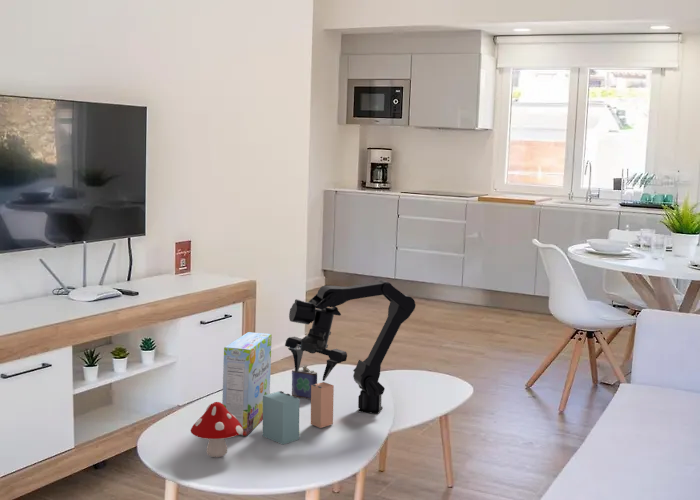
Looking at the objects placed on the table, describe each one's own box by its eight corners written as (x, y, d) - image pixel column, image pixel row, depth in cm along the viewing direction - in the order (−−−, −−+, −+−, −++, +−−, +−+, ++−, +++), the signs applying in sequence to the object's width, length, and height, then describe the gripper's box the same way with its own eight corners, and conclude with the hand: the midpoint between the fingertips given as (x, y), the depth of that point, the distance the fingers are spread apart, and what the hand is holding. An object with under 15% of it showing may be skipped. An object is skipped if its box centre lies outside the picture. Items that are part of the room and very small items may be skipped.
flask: (290, 396, 272) (290, 364, 270) (294, 393, 274) (295, 362, 273) (315, 400, 268) (315, 368, 266) (319, 398, 270) (319, 366, 269)
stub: (322, 420, 248) (323, 381, 246) (332, 424, 244) (333, 384, 243) (310, 424, 244) (311, 384, 242) (320, 428, 241) (321, 387, 239)
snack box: (249, 437, 233) (250, 349, 230) (220, 434, 235) (220, 347, 231) (271, 413, 254) (272, 332, 251) (245, 411, 256) (245, 330, 252)
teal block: (278, 431, 238) (279, 390, 237) (299, 439, 232) (299, 397, 231) (262, 435, 234) (262, 394, 233) (282, 444, 228) (283, 401, 226)
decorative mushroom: (185, 449, 223) (185, 396, 221) (234, 443, 228) (234, 391, 226) (197, 469, 210) (197, 412, 208) (249, 461, 215) (249, 406, 213)
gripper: (283, 320, 245) (271, 370, 245) (340, 336, 239) (327, 388, 239) (298, 318, 255) (286, 367, 256) (352, 334, 249) (341, 384, 250)
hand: (309, 376), depth 250 cm, fingers open, 9 cm apart
